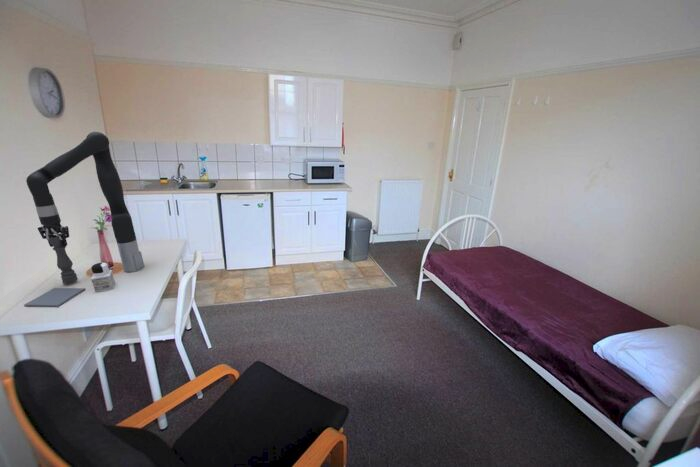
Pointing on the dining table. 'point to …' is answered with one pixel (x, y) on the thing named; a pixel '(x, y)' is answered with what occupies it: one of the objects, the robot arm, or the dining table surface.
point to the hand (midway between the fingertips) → (58, 246)
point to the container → (102, 277)
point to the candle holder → (63, 260)
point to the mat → (55, 297)
